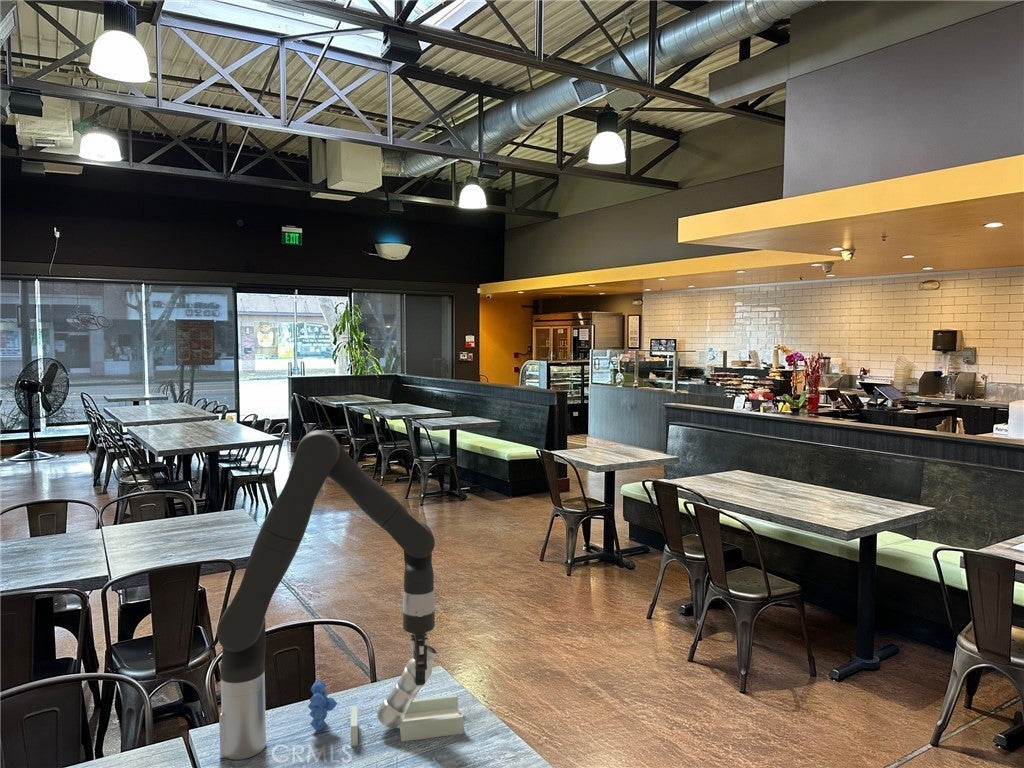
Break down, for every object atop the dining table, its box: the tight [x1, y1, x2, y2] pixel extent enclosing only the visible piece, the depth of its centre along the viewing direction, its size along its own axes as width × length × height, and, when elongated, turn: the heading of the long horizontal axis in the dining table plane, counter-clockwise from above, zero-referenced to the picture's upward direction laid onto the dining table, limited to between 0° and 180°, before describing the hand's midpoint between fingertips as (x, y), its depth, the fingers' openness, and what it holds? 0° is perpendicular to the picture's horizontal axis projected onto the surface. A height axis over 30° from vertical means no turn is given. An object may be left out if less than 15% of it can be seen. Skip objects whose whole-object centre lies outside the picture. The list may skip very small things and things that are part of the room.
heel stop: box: [350, 705, 359, 746], centre depth 159 cm, size 2×9×4 cm, turn 13°
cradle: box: [398, 694, 465, 742], centre depth 163 cm, size 14×11×4 cm
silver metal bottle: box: [376, 644, 438, 729], centre depth 162 cm, size 6×7×20 cm
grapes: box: [307, 679, 338, 732], centre depth 161 cm, size 12×7×12 cm, turn 11°
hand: (419, 677), depth 162 cm, fingers closed on silver metal bottle, 6 cm apart
